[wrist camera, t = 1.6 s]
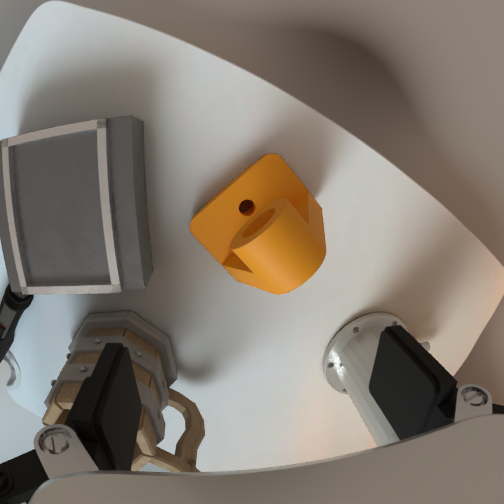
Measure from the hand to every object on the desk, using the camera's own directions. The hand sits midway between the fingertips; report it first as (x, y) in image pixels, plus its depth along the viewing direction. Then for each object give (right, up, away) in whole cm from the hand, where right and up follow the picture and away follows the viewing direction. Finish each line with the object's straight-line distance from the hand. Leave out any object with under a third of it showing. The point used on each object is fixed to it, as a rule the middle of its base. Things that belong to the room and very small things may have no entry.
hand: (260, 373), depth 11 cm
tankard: (-13, -10, +26) cm, 31 cm away
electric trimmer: (-32, -5, +22) cm, 39 cm away
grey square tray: (-18, +9, +19) cm, 28 cm away
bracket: (0, +8, +22) cm, 23 cm away
